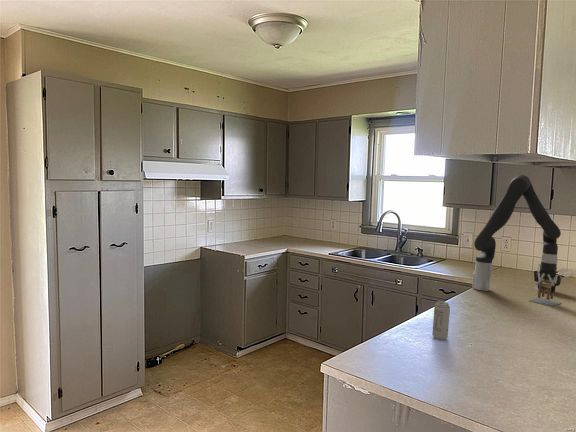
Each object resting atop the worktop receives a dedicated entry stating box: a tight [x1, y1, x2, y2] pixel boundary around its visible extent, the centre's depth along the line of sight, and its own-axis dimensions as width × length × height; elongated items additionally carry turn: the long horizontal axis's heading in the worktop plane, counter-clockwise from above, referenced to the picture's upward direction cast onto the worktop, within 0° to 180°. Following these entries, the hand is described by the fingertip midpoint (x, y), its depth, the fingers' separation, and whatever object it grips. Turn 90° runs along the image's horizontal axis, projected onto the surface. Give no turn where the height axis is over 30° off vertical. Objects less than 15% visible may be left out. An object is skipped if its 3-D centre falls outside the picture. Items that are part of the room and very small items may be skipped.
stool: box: [537, 282, 555, 300], centre depth 235 cm, size 6×6×8 cm
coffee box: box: [534, 263, 558, 293], centre depth 262 cm, size 9×6×16 cm
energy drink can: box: [431, 300, 451, 341], centre depth 174 cm, size 6×6×15 cm
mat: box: [528, 297, 562, 308], centre depth 236 cm, size 12×12×1 cm
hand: (546, 291), depth 235 cm, fingers closed on stool, 6 cm apart
